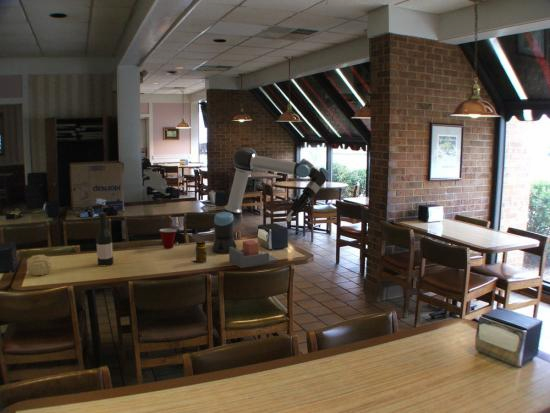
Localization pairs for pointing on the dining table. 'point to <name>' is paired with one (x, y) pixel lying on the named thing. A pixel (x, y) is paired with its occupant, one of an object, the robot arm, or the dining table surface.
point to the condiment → (200, 253)
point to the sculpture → (38, 265)
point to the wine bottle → (104, 243)
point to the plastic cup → (168, 237)
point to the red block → (250, 248)
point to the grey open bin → (249, 258)
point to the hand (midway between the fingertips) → (287, 220)
